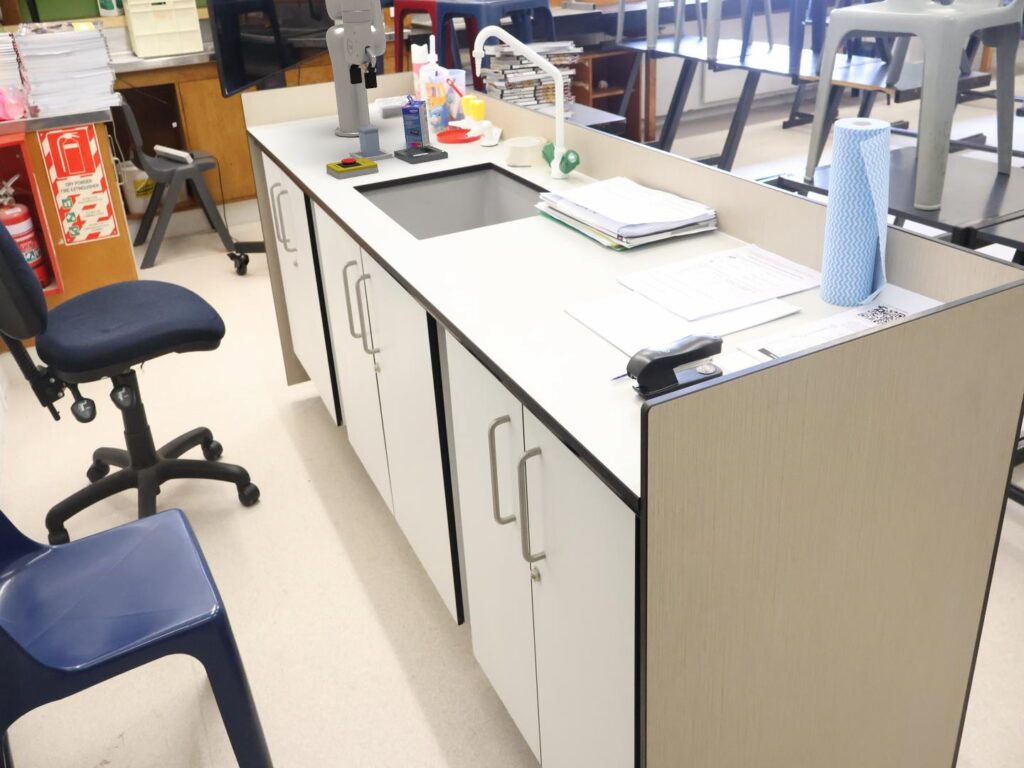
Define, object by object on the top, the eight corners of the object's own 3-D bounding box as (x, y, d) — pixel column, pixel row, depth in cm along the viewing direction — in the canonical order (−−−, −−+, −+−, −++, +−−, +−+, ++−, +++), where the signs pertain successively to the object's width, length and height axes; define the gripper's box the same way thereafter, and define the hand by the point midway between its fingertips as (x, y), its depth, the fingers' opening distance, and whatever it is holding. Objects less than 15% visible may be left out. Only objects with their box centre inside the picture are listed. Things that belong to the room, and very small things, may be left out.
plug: (361, 156, 253) (358, 127, 249) (374, 154, 255) (371, 125, 251) (367, 159, 250) (364, 130, 246) (380, 157, 252) (377, 128, 248)
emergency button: (318, 160, 237) (371, 151, 244) (320, 176, 239) (373, 167, 246) (332, 167, 230) (386, 158, 237) (334, 184, 232) (387, 174, 239)
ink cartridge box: (411, 142, 269) (407, 92, 262) (430, 142, 268) (426, 91, 262) (404, 150, 260) (400, 98, 253) (423, 150, 260) (420, 98, 253)
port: (394, 158, 253) (393, 149, 251) (429, 152, 258) (429, 144, 256) (412, 166, 244) (411, 157, 243) (448, 159, 249) (447, 151, 248)
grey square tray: (349, 158, 254) (349, 152, 253) (379, 153, 258) (378, 148, 257) (362, 164, 247) (362, 159, 247) (392, 159, 251) (392, 154, 251)
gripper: (330, 16, 240) (338, 83, 248) (356, 21, 227) (364, 91, 235) (356, 14, 244) (363, 80, 252) (384, 18, 231) (390, 88, 239)
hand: (363, 85), depth 243 cm, fingers open, 9 cm apart
